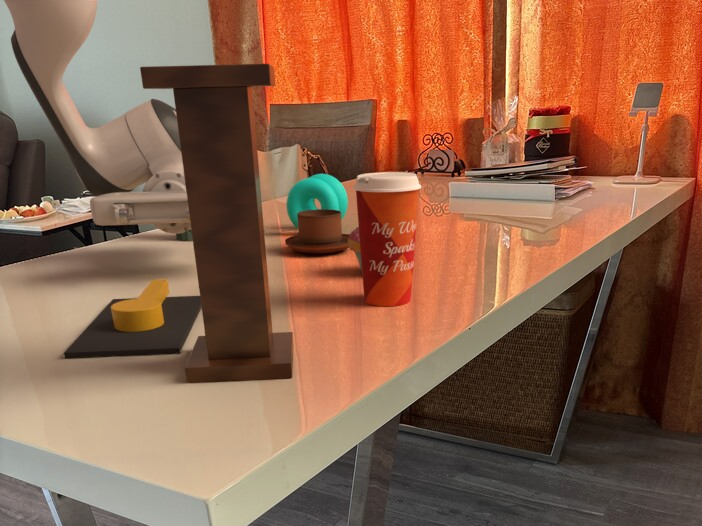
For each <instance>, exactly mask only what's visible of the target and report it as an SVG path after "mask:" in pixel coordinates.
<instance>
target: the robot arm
mask: <svg viewBox="0 0 702 526" xmlns="http://www.w3.org/2000/svg"><path fill="white" fill-rule="evenodd" d="M3 2H4V3H5V5H6V7H7V8H8V11H9V13H10V16H11V18H12V22H13V26H14V30H13V32H12V35H11V36H10V45H11V48H12V52H13V54H14V57H15V60H16V62H17V65H18V67H19V69H20V72H21V73H22V75H23V77H24V79H25V80H26V83H27V85H28V87H29V89H30V90H31V92H32V93H33V95H34V97H35V99H36V101H37V102H38V104H39V106H40V108H41V109H42V111H43V113H44V115H45V116H46V119H47V120H48V122H49V123H50V125H51V127H52V128H53V131H54V132H55V134H56V136H57V137H58V139H59V141H60V142H61V144H62V146H63V148H64V149H65V151H66V153H67V155H68V157H69V159H70V162H71V163H72V166H73V167H74V171H75V173H76V174H77V176H78V178H79V180H80V182H81V184H82V185H83V187H85V188H86V191H88V193H90V194H91V195H92V196H94V197H91V198H90V199H89V207H90V213H91V218H92V221H93V224H94V225H96V226H128V225H130V226H131V225H132V226H133V225H153V226H154V227H155V228H157V229H158V230H160V231H162V232H164V233H167V234H174V235H176V234H179V233H183V232H186V231H188V230H190V229H191V222H190V215H189V207H188V200H187V192H186V184H185V177H184V169H183V161H182V154H181V146H180V139H179V131H178V123H177V116H176V108H175V107H173V106H172V105H170V104H168V103H166V102H164V101H163V100H160V99H157V98H151V99H149V100H147V101H145V102H143V103H140V104H139V105H136V106H135V107H133V108H132V109H131V108H130V110H128V111H126V112H125V113H123V114H122V115H119V116H118V117H116V118H114V119H112V120H110V121H108V122H106V123H104V124H102V125H100V126H98V127H89V126H87V125H86V123H85V122H84V120H83V118H82V116H81V114H80V112H79V110H78V108H77V106H76V104H75V103H74V101H73V99H72V97H71V95H70V94H69V92H68V89H67V88H66V86H65V84H64V82H63V76H64V74H65V72H66V69H67V67H68V66H69V64H70V63H71V61H72V60H73V58H74V57H75V55H76V54H77V53H78V51H79V50H80V49H81V47H82V46H83V45H84V43H85V41H86V40H87V39H88V37H89V35H90V32H91V30H92V28H93V25H94V22H95V19H96V15H97V9H98V0H3ZM143 184H144V185H143ZM141 185H143V187H142V188H143V189H142V191H133V190H134V189H136V188H137V187H139V186H141Z"/></svg>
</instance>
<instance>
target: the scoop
mask: <svg viewBox="0 0 702 526" xmlns="http://www.w3.org/2000/svg"><path fill="white" fill-rule="evenodd" d="M169 287H170V286H169V281H168V278H164V279H152V280H151V281H150V282H149V283H148V285H147V286H146V287H145V288H144V290H143V291H142V292H141V293H140V294H139V296H138V297H137V298H138V299H130V300H124V301H120V302H117V303H115V304H113V305H112V306H111V311H112V317H113V322H114V327H115V329H117V330H119V331H124V332H140V331H147V330H152V329H155V328H158V327H160V326H162V325H163V324H164V318H163V311H162V305H161V304H162V303H163V301H164V300H165V298H166V297H168V295H169V294H170V288H169Z"/></svg>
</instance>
